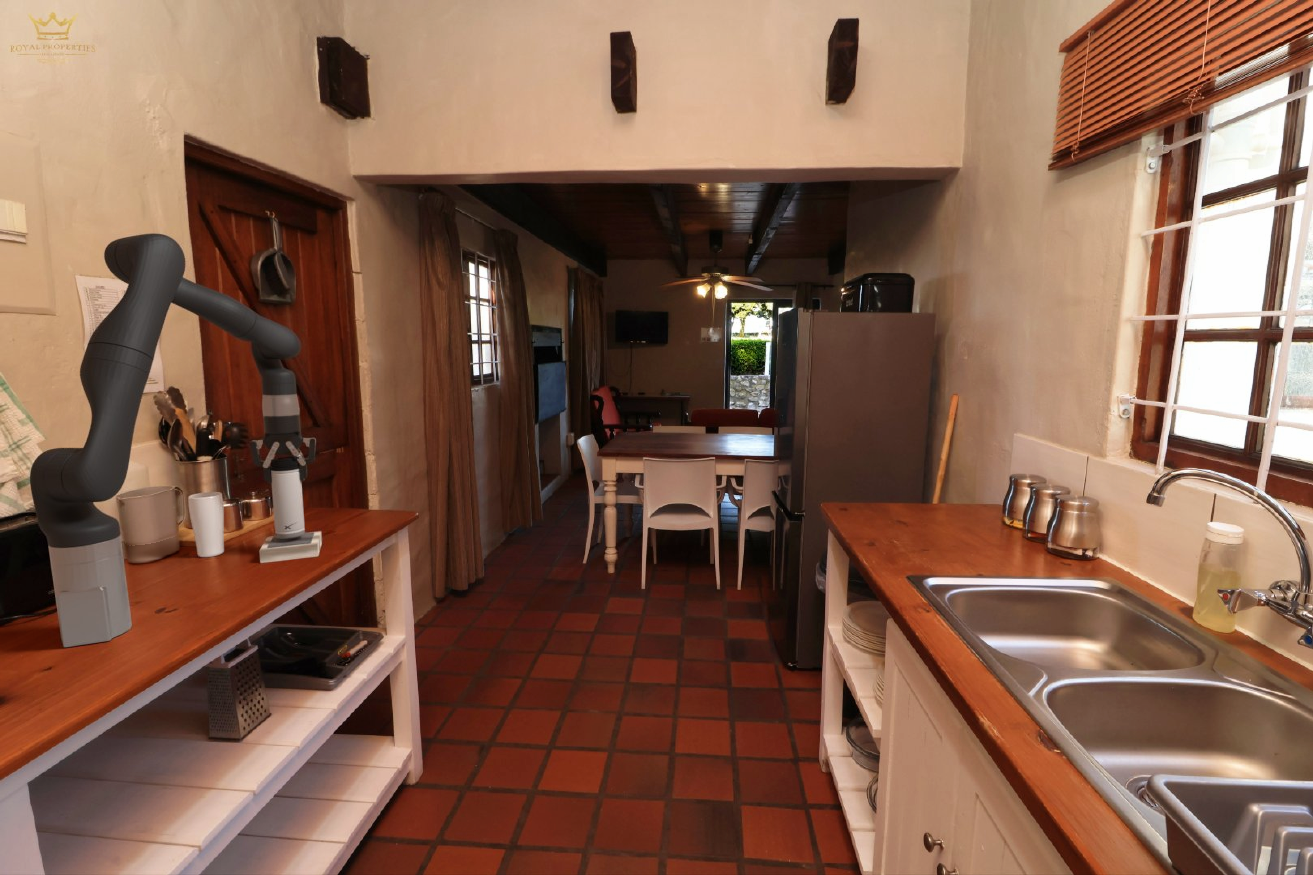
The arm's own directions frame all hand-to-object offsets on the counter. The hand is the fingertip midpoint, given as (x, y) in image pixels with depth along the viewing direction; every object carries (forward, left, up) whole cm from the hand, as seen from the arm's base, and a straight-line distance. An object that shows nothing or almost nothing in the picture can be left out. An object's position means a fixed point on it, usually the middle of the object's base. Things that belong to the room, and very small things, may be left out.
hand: (286, 481), depth 150 cm
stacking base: (0, 0, -18) cm, 18 cm away
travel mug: (0, 0, -14) cm, 14 cm away
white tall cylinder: (+6, +18, -18) cm, 26 cm away
